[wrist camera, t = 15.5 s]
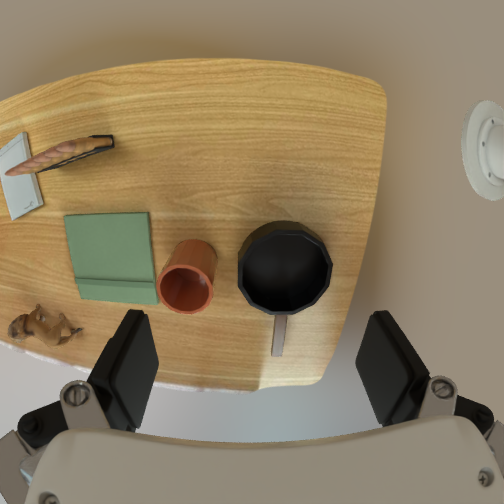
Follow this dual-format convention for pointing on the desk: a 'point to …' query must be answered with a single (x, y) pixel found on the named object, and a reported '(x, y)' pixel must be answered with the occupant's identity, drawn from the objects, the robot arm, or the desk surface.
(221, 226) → the desk surface
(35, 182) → the hard drive
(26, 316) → the lion figurine
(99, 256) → the notepad
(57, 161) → the ammunition clip
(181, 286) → the cup
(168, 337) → the desk surface
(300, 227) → the pan
